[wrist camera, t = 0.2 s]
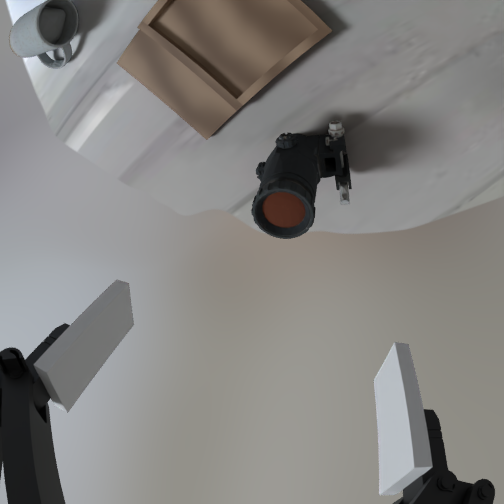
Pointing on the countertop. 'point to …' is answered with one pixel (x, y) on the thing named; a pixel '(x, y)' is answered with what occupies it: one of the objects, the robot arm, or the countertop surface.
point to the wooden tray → (217, 53)
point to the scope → (299, 180)
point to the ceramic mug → (45, 31)
